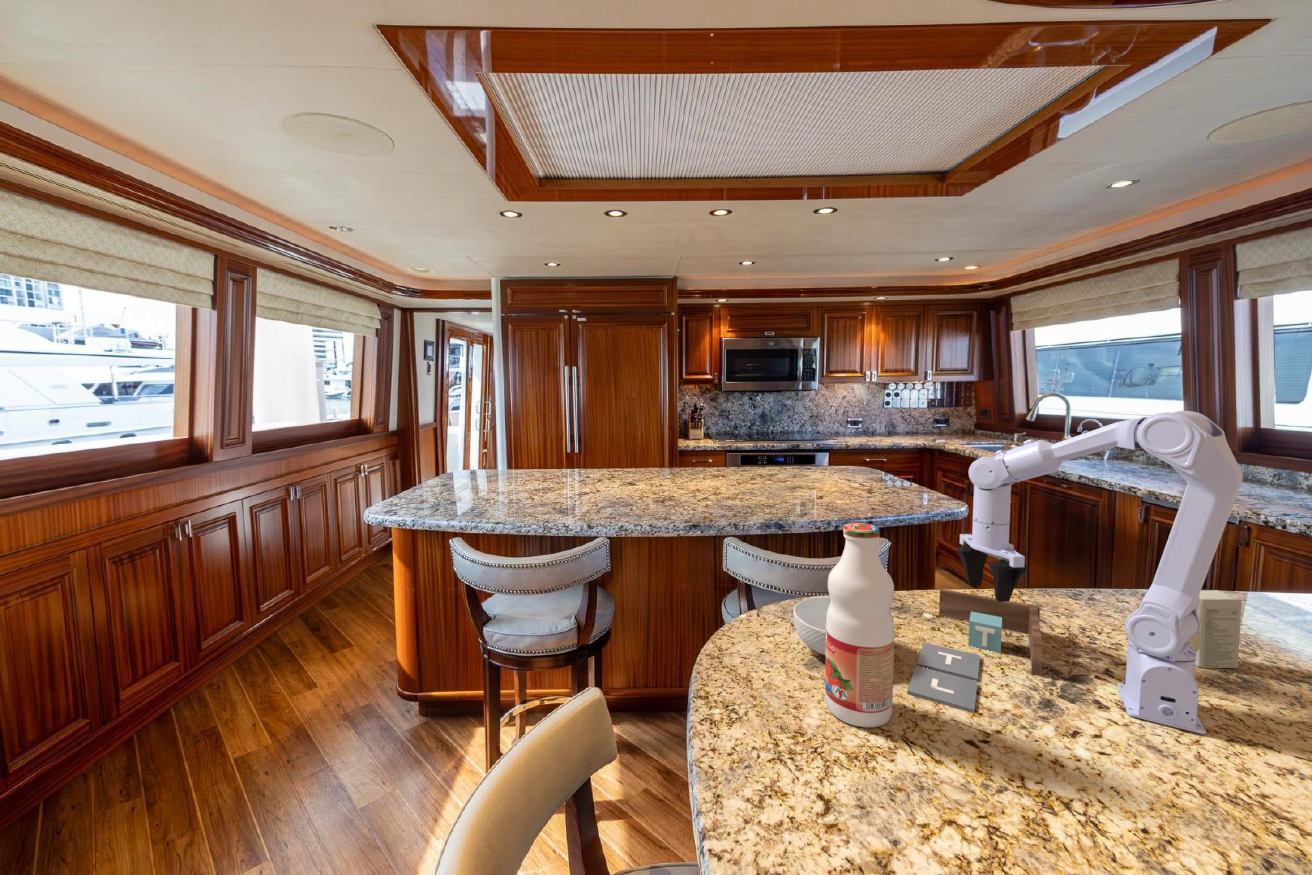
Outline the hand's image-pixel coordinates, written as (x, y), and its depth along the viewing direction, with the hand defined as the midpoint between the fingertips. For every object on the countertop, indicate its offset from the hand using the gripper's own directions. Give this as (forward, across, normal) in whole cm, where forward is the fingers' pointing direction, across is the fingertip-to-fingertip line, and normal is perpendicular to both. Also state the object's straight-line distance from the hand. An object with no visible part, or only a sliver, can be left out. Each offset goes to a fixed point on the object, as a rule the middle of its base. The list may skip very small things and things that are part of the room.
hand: (988, 592), depth 96 cm
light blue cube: (+10, 0, 0) cm, 10 cm away
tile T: (+10, -6, +11) cm, 16 cm away
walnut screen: (+10, +1, 0) cm, 10 cm away
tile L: (+10, -14, +17) cm, 24 cm away
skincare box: (+10, -9, -33) cm, 36 cm away
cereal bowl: (+10, 0, +28) cm, 30 cm away
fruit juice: (+10, -18, +33) cm, 39 cm away
